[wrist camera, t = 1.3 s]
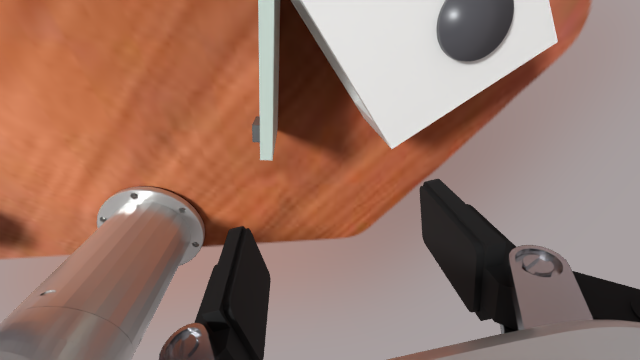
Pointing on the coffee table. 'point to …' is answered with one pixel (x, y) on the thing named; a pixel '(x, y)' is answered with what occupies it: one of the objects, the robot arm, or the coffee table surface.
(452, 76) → the white cabinet
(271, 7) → the side door
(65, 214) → the coffee table surface
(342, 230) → the coffee table surface
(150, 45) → the coffee table surface
